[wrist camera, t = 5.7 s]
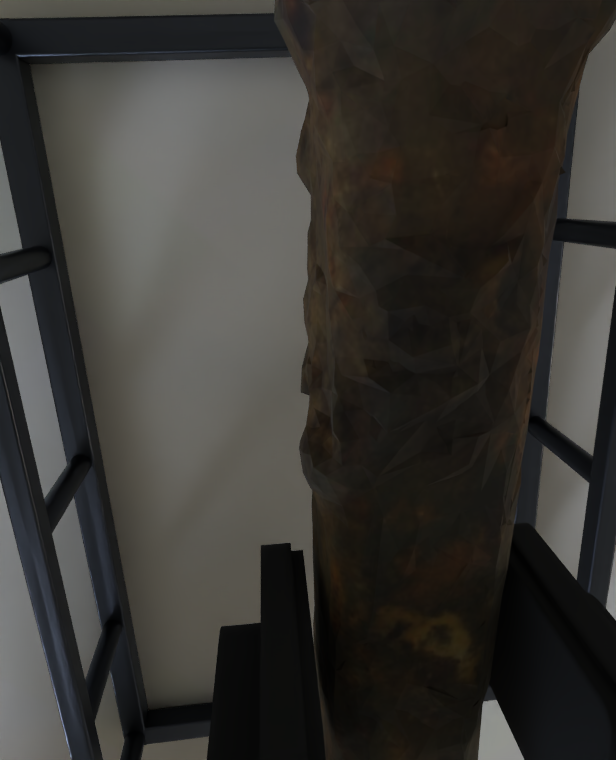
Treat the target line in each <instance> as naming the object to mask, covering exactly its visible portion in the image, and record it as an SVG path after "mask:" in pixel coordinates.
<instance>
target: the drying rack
mask: <svg viewBox="0 0 616 760" xmlns="http://www.w3.org/2000/svg"><path fill="white" fill-rule="evenodd" d="M615 20H616V19H615ZM272 57H291V54H290V52H289V50H288V48H287V46H286V43H285V41H284V39H283V37H282V35H281V33H280V31H279V29H278V27H277V25H276V23H275V22H274V13H261V14H213V15H165V16H116V17H68V18H20V19H9V18H6V19H0V141H1V146H2V151H3V156H4V161H5V165H6V170H7V175H8V180H9V185H10V190H11V194H12V199H13V204H14V209H15V214H16V219H17V223H18V228H19V233H20V238H21V243H22V248H23V249H20V250H15V251H11V252H6V253H2V254H0V284H2V283H5V282H7V281H10V280H13V279H16V278H19V277H22V276H25V275H28V277H29V281H30V286H31V291H32V296H33V301H34V306H35V310H36V315H37V320H38V325H39V330H40V335H41V339H42V344H43V349H44V354H45V359H46V364H47V368H48V373H49V378H50V383H51V388H52V393H53V397H54V402H55V407H56V412H57V417H58V422H59V427H60V431H61V436H62V441H63V446H64V451H65V456H66V460H67V466H66V468H65V469H64V471H63V472H62V473H61V475H60V476H59V478H58V479H57V481H56V482H55V484H54V485H53V487H52V488H51V490H50V491H49V493H48V494H47V495H46V497H45V498H44V497H43V492H42V488H41V484H40V479H39V475H38V470H37V466H36V462H35V457H34V453H33V448H32V444H31V440H30V435H29V431H28V426H27V422H26V418H25V413H24V409H23V404H22V400H21V396H20V391H19V387H18V382H17V378H16V374H15V369H14V365H13V360H12V356H11V352H10V347H9V343H8V338H7V334H6V329H5V325H4V321H3V316H2V312H1V307H0V480H1V484H2V488H3V492H4V496H5V499H6V503H7V507H8V511H9V515H10V519H11V523H12V527H13V531H14V535H15V539H16V543H17V547H18V551H19V555H20V559H21V563H22V567H23V571H24V575H25V579H26V583H27V587H28V591H29V595H30V598H31V602H32V606H33V610H34V614H35V618H36V622H37V626H38V630H39V634H40V638H41V642H42V646H43V650H44V654H45V658H46V662H47V666H48V670H49V674H50V678H51V682H52V686H53V690H54V694H55V697H56V701H57V705H58V709H59V713H60V717H61V721H62V725H63V729H64V733H65V737H66V741H67V745H68V749H69V753H70V757H71V760H103V757H102V752H101V748H100V744H99V739H98V735H97V730H96V726H95V719H96V715H97V712H98V709H99V705H100V702H101V698H102V695H103V692H104V688H105V685H106V682H107V678H108V675H109V671H110V673H111V678H112V683H113V688H114V692H115V697H116V702H117V707H118V712H119V717H120V722H121V726H122V731H123V736H124V745H123V749H122V754H121V758H120V760H141V757H142V752H143V747H144V745H147V744H153V743H161V742H169V741H177V740H185V739H192V738H200V737H208V736H209V734H210V723H211V713H212V703H206V704H198V705H190V706H182V707H174V708H166V709H158V710H149V711H148V706H147V701H146V695H145V690H144V684H143V679H142V673H141V668H140V662H139V657H138V652H137V646H136V641H135V635H134V630H133V624H132V619H131V613H130V608H129V603H128V597H127V592H126V586H125V581H124V575H123V570H122V564H121V559H120V554H119V548H118V543H117V537H116V532H115V526H114V521H113V515H112V510H111V505H110V499H109V494H108V488H107V483H106V477H105V472H104V466H103V461H102V455H101V450H100V445H99V439H98V434H97V428H96V423H95V417H94V412H93V406H92V401H91V396H90V390H89V385H88V379H87V374H86V368H85V363H84V357H83V352H82V347H81V341H80V336H79V330H78V325H77V319H76V314H75V308H74V303H73V298H72V292H71V287H70V281H69V276H68V270H67V265H66V259H65V254H64V249H63V243H62V238H61V232H60V227H59V221H58V216H57V210H56V205H55V199H54V194H53V189H52V183H51V178H50V172H49V167H48V161H47V156H46V150H45V145H44V140H43V134H42V129H41V123H40V118H39V112H38V107H37V101H36V96H35V91H34V85H33V80H32V74H31V69H30V64H52V63H89V62H126V61H162V60H199V59H235V58H272ZM579 88H580V86H579ZM578 98H579V90H578V94H577V98H576V102H575V106H574V110H573V114H572V118H571V122H570V125H569V129H568V133H567V140H566V151H565V158H564V162H563V166H562V168H563V169H564V171H565V172H566V173H564V174H561V175H560V178H559V182H558V203H557V220H556V224H555V229H554V234H553V239H552V244H551V248H550V253H549V263H548V272H547V282H546V292H545V301H544V311H543V320H542V330H541V338H540V346H539V354H538V361H537V366H536V372H535V378H534V385H533V393H532V400H531V407H530V415H529V422H528V430H527V435H526V441H525V446H524V451H523V457H522V462H521V486H520V491H519V497H518V502H517V508H516V514H515V521H514V524H516V523H529V524H530V525H531V526H532V527H533V528H534V529H535V526H536V516H537V506H538V496H539V486H540V476H541V466H542V456H543V446H546V447H547V448H548V449H549V450H550V451H552V452H553V453H554V454H555V455H556V456H558V457H559V458H560V459H561V460H562V461H564V462H565V463H566V464H567V465H568V466H570V467H571V468H572V469H573V470H574V471H576V472H577V473H578V474H579V475H580V476H582V477H583V478H584V479H585V480H586V481H588V482H589V491H588V498H587V506H586V513H585V521H584V529H583V536H582V544H581V551H580V559H579V566H578V574H577V582H578V583H579V584H580V585H581V587H582V588H583V589H584V590H585V591H586V592H587V593H590V594H592V595H593V596H595V597H596V598H597V599H598V600H599V601H600V602H601V604H602V605H603V606H604V607H605V608H606V603H607V597H608V590H609V584H610V577H611V571H612V565H613V558H614V552H615V545H616V288H615V295H614V303H613V310H612V318H611V325H610V333H609V340H608V348H607V355H606V363H605V371H604V378H603V386H602V393H601V401H600V408H599V416H598V423H597V431H596V438H595V446H594V453H593V456H592V455H590V454H589V453H588V452H586V451H585V450H584V449H582V448H581V447H580V446H578V445H577V444H576V443H574V442H573V441H572V440H570V439H569V438H568V437H566V436H565V435H564V434H562V433H561V432H560V431H558V430H557V429H556V428H554V427H553V426H552V425H550V424H549V423H548V422H546V416H547V407H548V397H549V387H550V377H551V367H552V357H553V347H554V337H555V327H556V317H557V307H558V297H559V287H560V277H561V267H562V257H563V247H564V242H569V243H576V244H584V245H591V246H598V247H606V248H613V249H616V222H610V221H595V220H579V219H566V217H567V207H568V197H569V187H570V177H571V167H572V157H573V147H574V137H575V127H576V117H577V108H578ZM73 497H74V499H75V504H76V509H77V514H78V518H79V523H80V528H81V533H82V538H83V543H84V547H85V552H86V557H87V562H88V567H89V572H90V576H91V581H92V586H93V591H94V596H95V601H96V605H97V610H98V615H99V620H100V625H101V630H102V632H101V635H100V638H99V641H98V644H97V647H96V649H95V652H94V655H93V658H92V661H91V664H90V667H89V670H88V673H87V676H86V679H85V678H84V673H83V669H82V664H81V660H80V656H79V651H78V647H77V642H76V638H75V633H74V629H73V625H72V620H71V616H70V611H69V607H68V603H67V598H66V594H65V589H64V585H63V581H62V576H61V572H60V567H59V563H58V559H57V554H56V550H55V545H54V541H53V537H52V533H53V531H54V529H55V528H56V526H57V524H58V522H59V521H60V519H61V517H62V516H63V514H64V512H65V511H66V509H67V507H68V505H69V504H70V502H71V500H72V499H73ZM489 700H497V699H496V697H495V695H494V693H493V691H492V689H491V686H490V684H489V685H488V689H487V693H486V695H485V698H484V701H489Z"/></svg>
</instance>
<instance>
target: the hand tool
mask: <svg viewBox="0 0 616 760" xmlns="http://www.w3.org/2000/svg"><path fill="white" fill-rule="evenodd" d="M615 19H616V0H275V5H274V22H275V23H276V25H277V27H278V29H279V31H280V33H281V35H282V37H283V39H284V41H285V43H286V46H287V48H288V50H289V52H290V54H291V57H292V59H293V61H294V63H295V65H296V67H297V69H298V71H299V73H300V75H301V77H302V79H303V81H304V83H305V85H306V88H307V91H308V94H309V103H308V107H307V112H306V116H305V120H304V124H303V127H302V130H301V134H300V139H299V144H298V148H297V153H296V163H297V174H298V175H299V177H300V179H301V180H302V182H303V183H304V185H305V187H306V188H307V190H308V191H309V193H310V194H311V222H310V226H309V230H308V253H307V270H308V283H307V286H306V290H305V294H304V298H303V304H304V321H305V327H306V331H307V335H308V346H307V350H306V353H305V357H304V361H303V365H302V377H301V393H304V394H306V395H309V410H308V416H307V422H306V427H305V430H304V432H303V435H302V438H301V440H300V446H299V450H300V457H301V464H302V470H303V474H304V476H305V478H306V480H307V482H308V484H309V486H310V488H311V489H312V491H313V492H312V523H313V569H314V603H315V607H314V622H313V629H314V653H315V662H316V671H317V679H318V688H319V697H320V706H321V715H322V724H323V733H324V744H325V756H326V760H478V749H479V737H480V727H481V714H482V704H483V701H484V698H485V695H486V693H487V689H488V685H489V682H490V678H491V670H492V662H493V655H494V648H495V641H496V634H497V627H498V620H499V614H500V608H501V601H502V595H503V589H504V584H505V579H506V575H507V570H508V564H509V556H510V549H511V542H512V535H513V528H514V521H515V514H516V508H517V502H518V497H519V491H520V486H521V462H522V457H523V451H524V446H525V441H526V435H527V430H528V422H529V415H530V407H531V400H532V393H533V385H534V378H535V372H536V366H537V361H538V354H539V346H540V338H541V330H542V320H543V311H544V301H545V292H546V282H547V272H548V263H549V253H550V248H551V244H552V239H553V234H554V229H555V224H556V220H557V203H558V182H559V178H560V175H561V174H564V173H566V172H565V171H564V169H563V168H562V166H563V162H564V158H565V151H566V140H567V133H568V129H569V125H570V122H571V118H572V114H573V110H574V106H575V102H576V98H577V94H578V90H579V86H580V83H581V79H582V75H583V71H584V67H585V64H586V61H587V58H588V54H589V53H590V52H591V51H592V50H593V48H594V47H595V46H596V45H597V44H598V43H599V42H600V40H601V39H602V38H603V37H604V36H605V35H606V33H607V32H608V31H609V30H610V28H611V26H612V25H613V23H614V21H615Z"/></svg>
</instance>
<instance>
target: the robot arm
mask: <svg viewBox="0 0 616 760" xmlns="http://www.w3.org/2000/svg"><path fill="white" fill-rule="evenodd" d="M489 684H490V686H491V689H492V691H493V693H494V695H495V697H496V699H497V701H498V704H499V706H500V708H501V710H502V712H503V714H504V716H505V719H506V721H507V723H508V725H509V727H510V729H511V732H512V734H513V736H514V738H515V740H516V742H517V744H518V747H519V749H520V751H521V753H522V755H523V757H524V760H616V620H615V619H614V618H613V617H612V616H611V614H610V613H609V612H608V611H607V610H606V608H605V607H604V606H603V605H602V604H601V602H600V601H599V600H598V599H597V598H596V597H595V596H593V595H592V594H590V593H587V592H586V591H585V590H584V589H583V588H582V587H581V585H580V584H579V583H578V582H577V580H576V579H575V578H574V577H573V576H572V574H571V573H570V572H569V571H568V569H567V568H566V567H565V566H564V565H563V563H562V562H561V561H560V560H559V558H558V557H557V556H556V555H555V554H554V552H553V551H552V550H551V549H550V547H549V546H548V545H547V544H546V542H545V541H544V540H543V539H542V538H541V536H540V535H539V534H538V533H537V531H536V530H535V529H534V528H533V527H532V526H531V525H530V524H529V523H516V524H514V528H513V535H512V542H511V549H510V556H509V564H508V570H507V575H506V579H505V584H504V589H503V595H502V601H501V608H500V614H499V620H498V627H497V634H496V641H495V648H494V655H493V662H492V670H491V678H490V682H489ZM207 760H326V756H325V744H324V733H323V724H322V715H321V706H320V697H319V688H318V679H317V671H316V662H315V653H314V644H313V635H312V627H311V618H310V609H309V600H308V591H307V582H306V574H305V565H304V556H303V550H297V551H291V543H283V544H271V545H261V623H253V624H243V625H232V626H222V627H221V629H220V634H219V643H218V653H217V663H216V673H215V683H214V693H213V703H212V713H211V723H210V734H209V744H208V754H207Z"/></svg>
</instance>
